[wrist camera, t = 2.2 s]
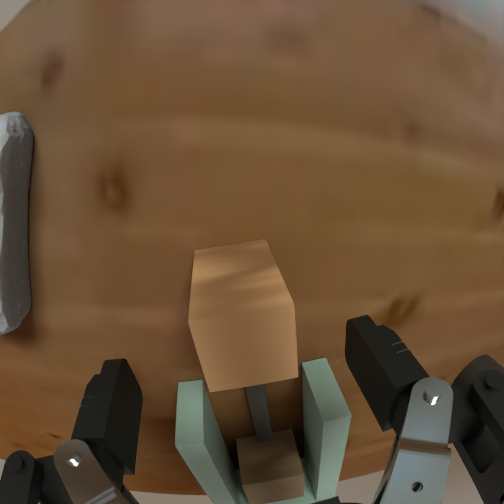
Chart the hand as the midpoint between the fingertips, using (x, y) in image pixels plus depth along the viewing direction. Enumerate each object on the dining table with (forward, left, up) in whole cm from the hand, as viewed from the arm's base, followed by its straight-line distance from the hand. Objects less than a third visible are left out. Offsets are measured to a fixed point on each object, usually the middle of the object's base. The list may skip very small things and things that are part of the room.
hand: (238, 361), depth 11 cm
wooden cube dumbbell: (0, +9, -6) cm, 11 cm away
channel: (0, +14, -6) cm, 15 cm away
